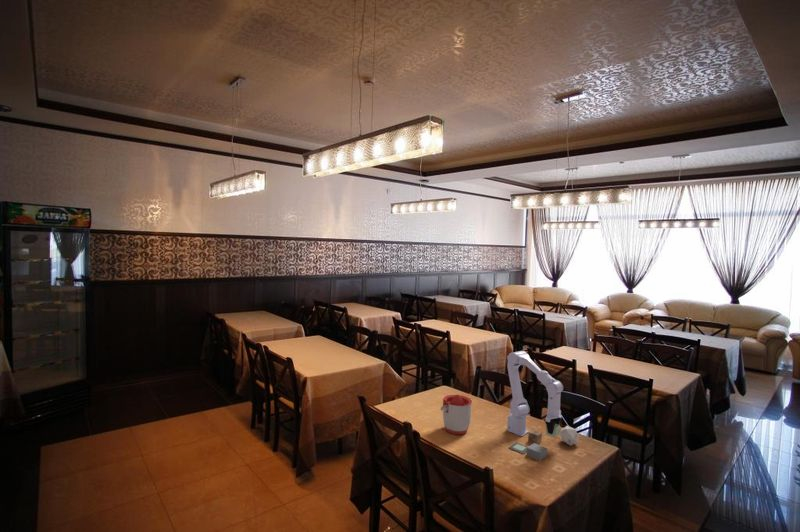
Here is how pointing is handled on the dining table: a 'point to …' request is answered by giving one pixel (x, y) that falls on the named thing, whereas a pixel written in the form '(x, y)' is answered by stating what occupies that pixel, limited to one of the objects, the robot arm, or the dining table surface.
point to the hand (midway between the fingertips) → (552, 431)
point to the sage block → (555, 432)
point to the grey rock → (569, 435)
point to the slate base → (537, 451)
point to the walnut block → (534, 436)
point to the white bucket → (456, 413)
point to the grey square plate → (518, 448)
